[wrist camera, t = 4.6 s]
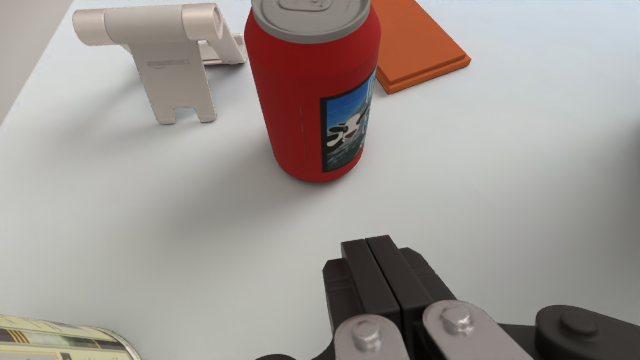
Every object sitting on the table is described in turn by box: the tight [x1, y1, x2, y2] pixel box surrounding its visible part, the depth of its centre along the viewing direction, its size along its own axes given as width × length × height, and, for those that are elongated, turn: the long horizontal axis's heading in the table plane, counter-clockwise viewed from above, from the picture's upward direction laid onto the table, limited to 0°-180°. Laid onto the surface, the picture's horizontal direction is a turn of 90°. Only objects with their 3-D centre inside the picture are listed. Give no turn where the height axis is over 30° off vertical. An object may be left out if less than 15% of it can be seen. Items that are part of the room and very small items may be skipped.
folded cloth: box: [371, 0, 471, 94], centre depth 31 cm, size 8×11×1 cm
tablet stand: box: [72, 3, 247, 124], centre depth 25 cm, size 9×8×8 cm
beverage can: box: [244, 0, 381, 182], centre depth 20 cm, size 7×7×12 cm
